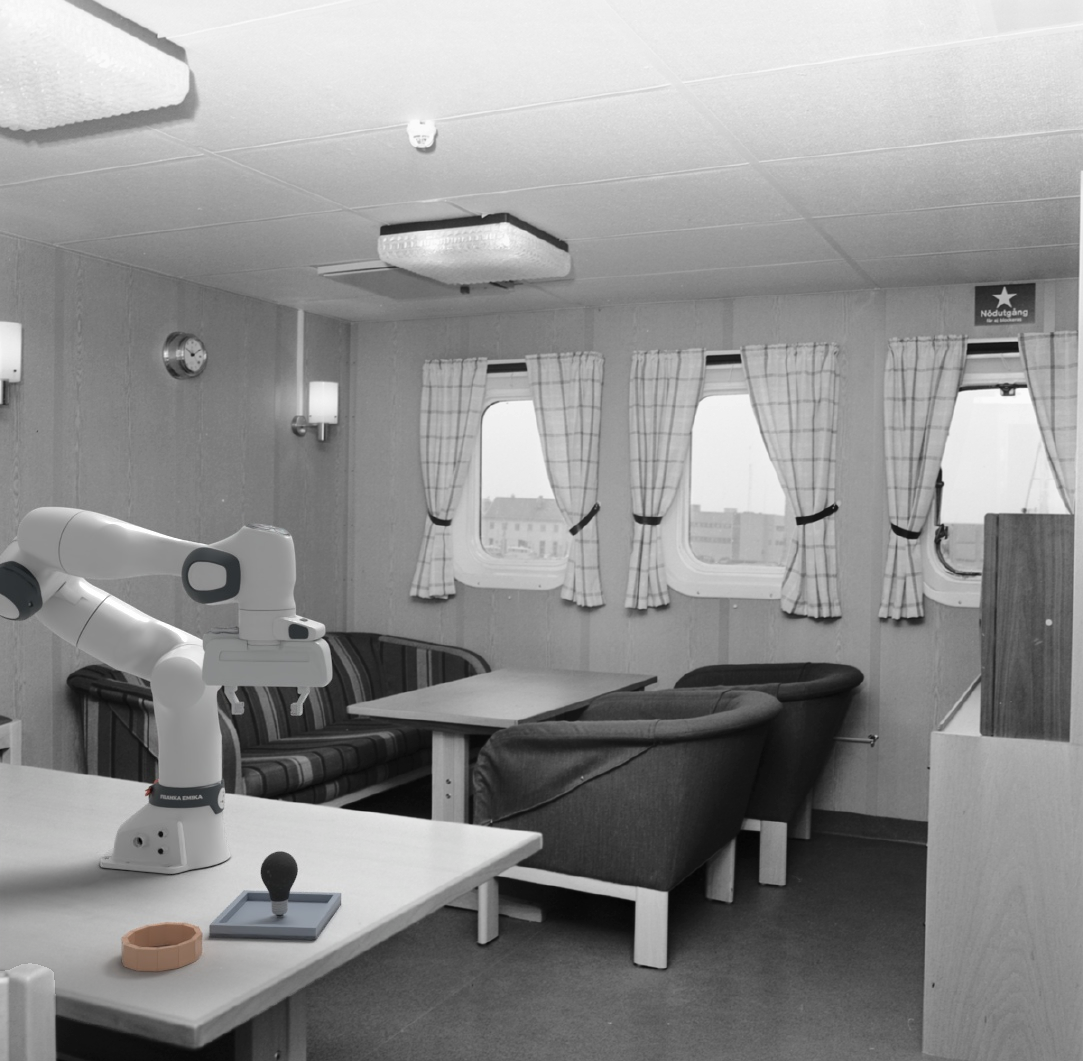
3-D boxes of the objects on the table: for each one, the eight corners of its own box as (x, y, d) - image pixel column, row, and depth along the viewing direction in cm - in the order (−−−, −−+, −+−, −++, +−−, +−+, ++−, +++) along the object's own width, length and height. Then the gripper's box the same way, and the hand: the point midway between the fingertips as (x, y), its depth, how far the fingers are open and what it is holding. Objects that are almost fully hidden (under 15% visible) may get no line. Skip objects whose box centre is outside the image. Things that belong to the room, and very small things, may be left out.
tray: (209, 936, 173) (209, 924, 173) (243, 901, 189) (243, 890, 189) (315, 939, 172) (315, 927, 172) (341, 903, 188) (341, 892, 188)
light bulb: (264, 910, 183) (263, 847, 183) (300, 908, 184) (299, 845, 183) (258, 923, 178) (257, 858, 177) (296, 921, 178) (295, 857, 178)
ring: (109, 969, 161) (109, 948, 161) (140, 941, 171) (140, 921, 171) (184, 972, 160) (185, 950, 160) (211, 943, 170) (211, 923, 170)
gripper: (195, 628, 182) (195, 716, 182) (325, 629, 180) (325, 718, 181) (209, 624, 188) (209, 710, 188) (335, 625, 187) (334, 712, 187)
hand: (267, 714), depth 184 cm, fingers open, 8 cm apart
